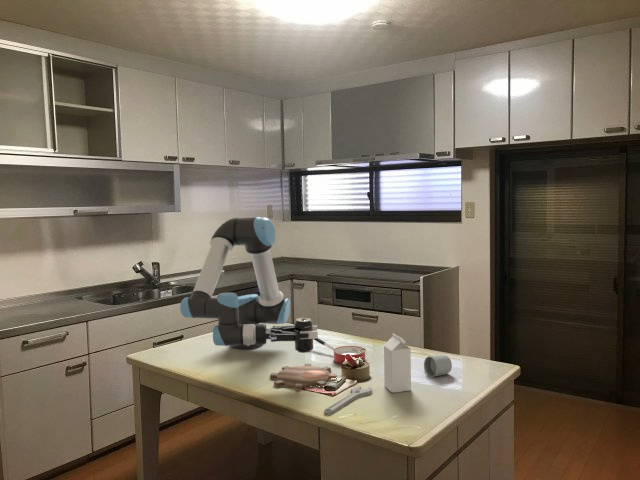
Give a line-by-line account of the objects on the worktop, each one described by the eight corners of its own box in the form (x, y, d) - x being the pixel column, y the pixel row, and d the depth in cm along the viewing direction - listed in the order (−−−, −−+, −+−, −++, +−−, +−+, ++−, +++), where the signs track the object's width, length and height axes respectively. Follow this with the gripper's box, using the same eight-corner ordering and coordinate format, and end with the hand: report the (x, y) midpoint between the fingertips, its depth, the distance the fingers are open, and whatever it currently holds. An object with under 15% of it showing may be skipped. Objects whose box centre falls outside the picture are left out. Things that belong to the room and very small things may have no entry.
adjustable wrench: (329, 417, 165) (329, 411, 164) (313, 412, 169) (313, 407, 169) (374, 392, 184) (374, 387, 183) (359, 388, 188) (359, 383, 188)
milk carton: (392, 393, 181) (391, 339, 180) (384, 386, 188) (383, 334, 186) (411, 390, 183) (410, 337, 182) (402, 383, 190) (401, 332, 188)
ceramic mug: (453, 375, 197) (453, 355, 197) (436, 379, 193) (436, 359, 193) (434, 368, 207) (434, 349, 206) (418, 372, 203) (417, 352, 202)
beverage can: (315, 348, 199) (314, 317, 198) (310, 354, 192) (309, 322, 191) (298, 347, 201) (297, 316, 200) (292, 353, 194) (291, 321, 193)
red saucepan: (296, 352, 232) (296, 338, 232) (317, 345, 241) (316, 332, 241) (351, 367, 210) (350, 352, 209) (371, 359, 219) (371, 344, 218)
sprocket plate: (277, 367, 213) (277, 363, 212) (339, 367, 210) (338, 363, 209) (263, 390, 188) (263, 385, 188) (333, 391, 185) (333, 386, 185)
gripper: (258, 337, 205) (316, 334, 206) (253, 351, 186) (318, 349, 187) (257, 318, 205) (316, 316, 206) (252, 331, 185) (318, 328, 186)
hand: (317, 332), depth 196 cm, fingers closed on beverage can, 7 cm apart
